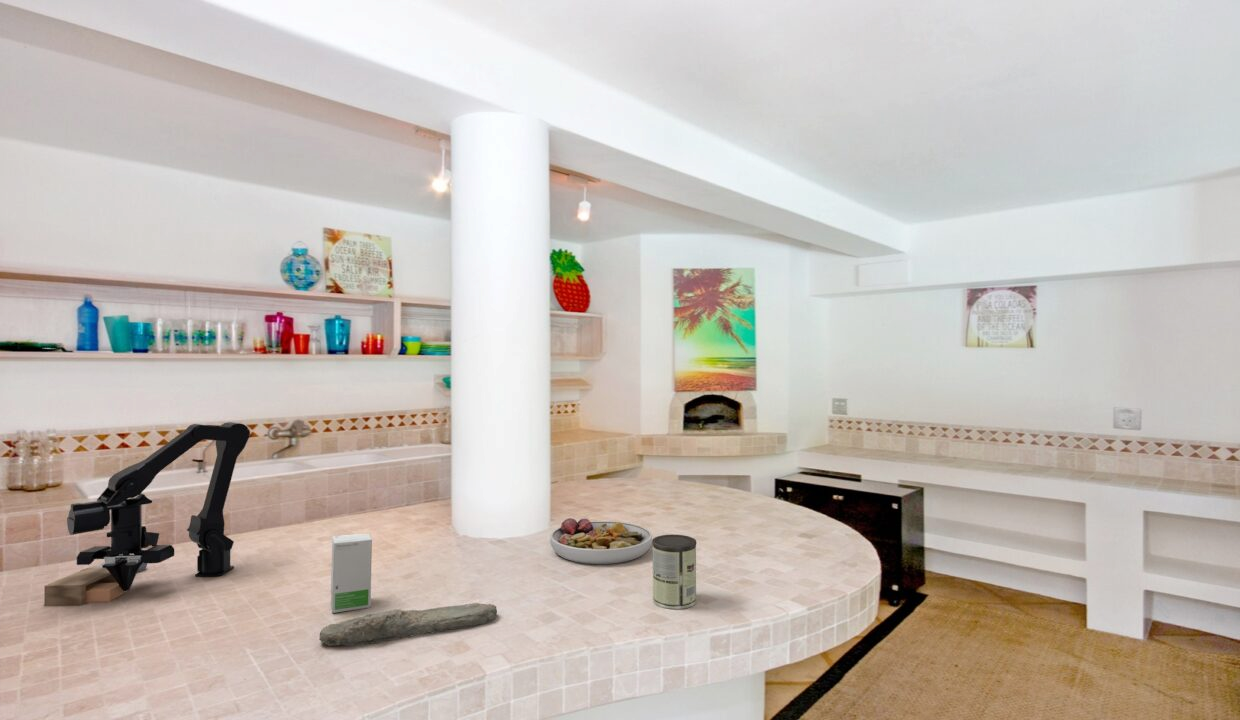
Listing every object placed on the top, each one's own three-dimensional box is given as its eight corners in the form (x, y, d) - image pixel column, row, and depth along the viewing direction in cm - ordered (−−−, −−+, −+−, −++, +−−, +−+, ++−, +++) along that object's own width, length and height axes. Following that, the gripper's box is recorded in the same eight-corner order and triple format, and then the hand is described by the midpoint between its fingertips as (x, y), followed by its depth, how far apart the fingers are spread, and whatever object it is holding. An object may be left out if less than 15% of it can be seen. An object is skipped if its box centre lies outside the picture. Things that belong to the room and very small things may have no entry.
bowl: (670, 546, 186) (670, 520, 186) (616, 575, 161) (616, 545, 161) (589, 531, 202) (589, 507, 202) (528, 556, 177) (528, 528, 177)
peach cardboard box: (123, 594, 147) (124, 582, 147) (109, 602, 142) (109, 589, 142) (86, 596, 146) (87, 583, 146) (71, 604, 141) (71, 591, 141)
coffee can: (658, 590, 150) (658, 532, 150) (700, 595, 146) (700, 536, 146) (646, 606, 140) (646, 544, 140) (691, 612, 137) (691, 549, 137)
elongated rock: (501, 633, 130) (492, 617, 139) (502, 608, 130) (493, 593, 139) (317, 654, 116) (320, 635, 125) (318, 625, 117) (322, 608, 126)
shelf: (121, 585, 152) (121, 567, 152) (81, 604, 140) (81, 585, 140) (87, 586, 152) (87, 567, 152) (44, 605, 140) (44, 585, 140)
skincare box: (331, 614, 135) (331, 543, 135) (330, 603, 141) (330, 536, 141) (372, 607, 139) (372, 538, 139) (369, 597, 145) (369, 531, 145)
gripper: (188, 515, 155) (188, 577, 155) (111, 517, 154) (111, 579, 154) (158, 528, 144) (158, 594, 144) (74, 529, 143) (74, 596, 143)
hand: (126, 590), depth 146 cm, fingers closed
